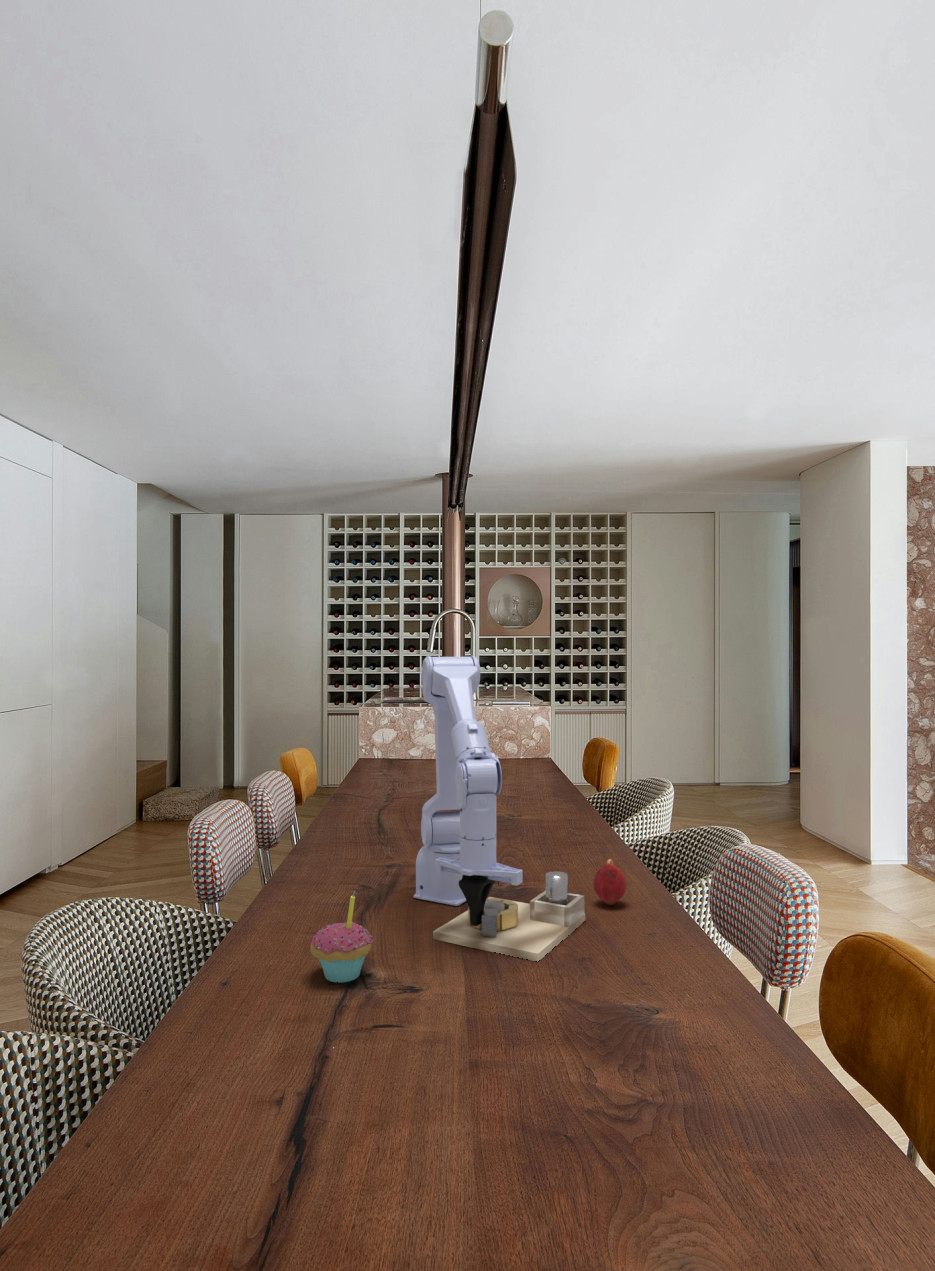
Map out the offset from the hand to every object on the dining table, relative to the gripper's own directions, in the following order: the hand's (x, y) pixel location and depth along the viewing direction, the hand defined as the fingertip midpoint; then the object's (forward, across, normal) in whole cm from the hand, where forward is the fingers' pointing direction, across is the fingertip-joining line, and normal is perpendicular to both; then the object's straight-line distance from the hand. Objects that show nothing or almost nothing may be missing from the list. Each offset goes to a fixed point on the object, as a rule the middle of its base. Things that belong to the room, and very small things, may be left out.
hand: (477, 924), depth 119 cm
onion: (+3, +12, +26) cm, 29 cm away
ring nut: (+1, 0, +4) cm, 4 cm away
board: (+3, +2, +7) cm, 8 cm away
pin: (+1, +8, +13) cm, 15 cm away
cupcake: (+3, -10, -20) cm, 23 cm away
